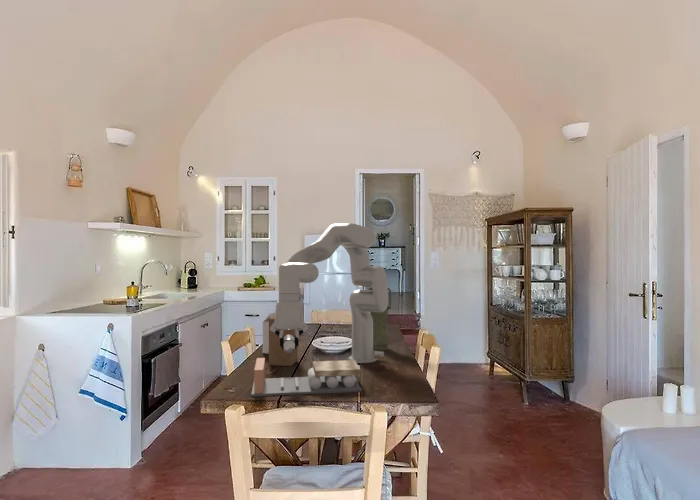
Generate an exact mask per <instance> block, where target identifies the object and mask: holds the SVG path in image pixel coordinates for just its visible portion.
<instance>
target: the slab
mask: <svg viewBox="0 0 700 500" xmlns="http://www.w3.org/2000/svg"><path fill="white" fill-rule="evenodd" d="M312 368H313V369H314V373H315V377H322V376H347V375H354V376H361V368H360V366H359V365H358V363H356V362H355V360H348V359H347V360H345V359H344V360H321V361H320V360H319V361H318V360H316V361H312Z"/></svg>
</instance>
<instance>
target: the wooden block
mask: <svg viewBox="0 0 700 500" xmlns="http://www.w3.org/2000/svg"><path fill="white" fill-rule="evenodd" d="M274 321H275V317H273V318H270V319H269V354H268V366H277V367H278V366H280V367H291V366H293V365H294V364H295V363H297V362H298V352H299V351H298V350H299V349H298V348H299V345H298V346H297V349H295V350H294V352H292V353H286V352H285V351H284V349H282V347H280V338H279V337H278V336H277V335H276V334H275V333H274V332H272V331H271V330H270V327H271V326H272V324H273V323H274ZM275 329H276V327H275ZM276 330H278V331H279V332H280V330H279V329H276ZM286 335H292V336H293V337H295V335H296V334H295V329H292V330H284V331H283V337H285V336H286Z"/></svg>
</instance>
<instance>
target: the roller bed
mask: <svg viewBox="0 0 700 500" xmlns="http://www.w3.org/2000/svg"><path fill="white" fill-rule="evenodd" d="M253 374H254V375H253V376H254V377H253V378H254V379H253V384H252V388H251V389H252V390H251V394H250V397H251V396H252V397H268V396H269V397H273V395H275V396H291V395H292V396H295V395H314V394H316V395H317V394H318V395H319V394H336V393H337V394H339V393H341V394H342V393H359V392H360V393H361V391H363V389H362V388H361V385H360V384H359V382H358V380H357V378H356V377H355V375H347V376H322V377H315V373H314V369H313V367H311V368H309V369H308V371H307V376H294V377H293V376H292V377H271V378H268V377H267V378H266V358H265V357H257V358H256V361H255V365H254V371H253Z"/></svg>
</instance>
